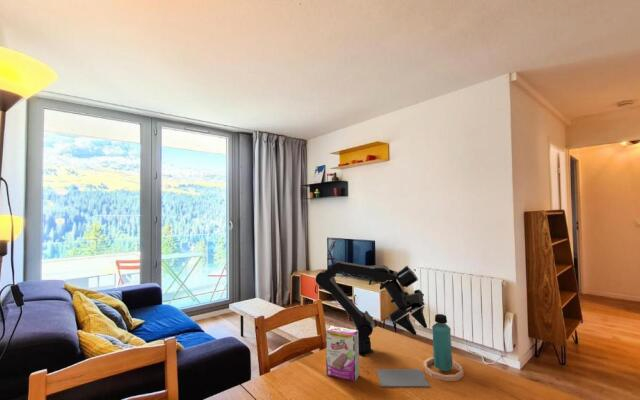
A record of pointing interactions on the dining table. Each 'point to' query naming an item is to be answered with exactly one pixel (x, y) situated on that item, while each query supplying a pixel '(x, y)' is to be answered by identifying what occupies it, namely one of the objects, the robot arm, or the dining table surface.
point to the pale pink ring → (441, 376)
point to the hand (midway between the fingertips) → (421, 331)
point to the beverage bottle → (442, 343)
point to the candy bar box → (342, 353)
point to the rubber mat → (402, 378)
